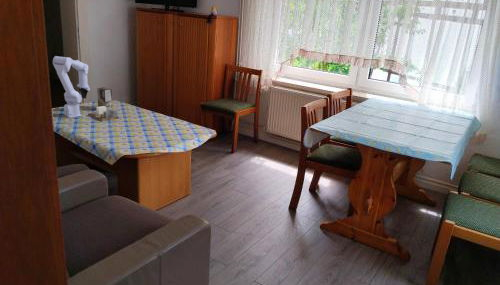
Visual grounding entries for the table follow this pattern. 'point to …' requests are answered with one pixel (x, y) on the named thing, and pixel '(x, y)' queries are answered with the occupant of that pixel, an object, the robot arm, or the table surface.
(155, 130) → the table surface
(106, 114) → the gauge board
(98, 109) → the white rectangular block
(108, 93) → the coffee box
